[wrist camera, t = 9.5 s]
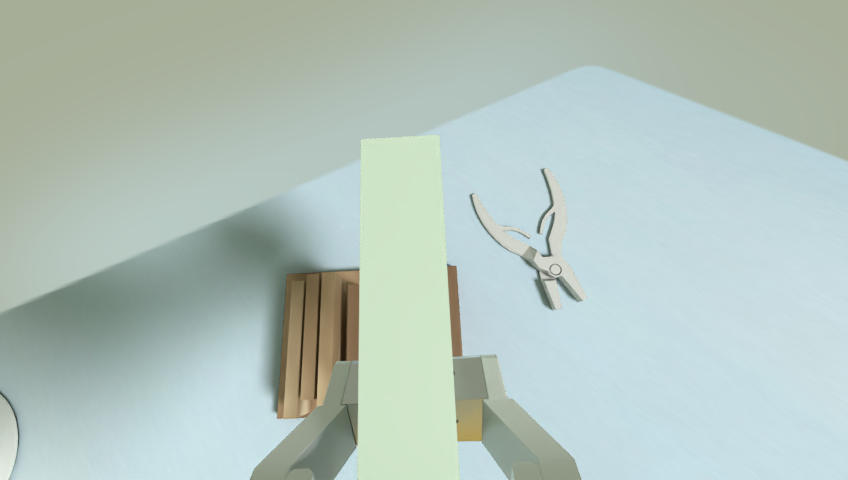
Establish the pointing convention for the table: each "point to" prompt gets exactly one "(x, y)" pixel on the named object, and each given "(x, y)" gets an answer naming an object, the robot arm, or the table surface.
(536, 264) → the pliers
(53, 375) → the table surface
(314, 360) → the offcut rack
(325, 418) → the robot arm
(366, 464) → the pale green flat block
